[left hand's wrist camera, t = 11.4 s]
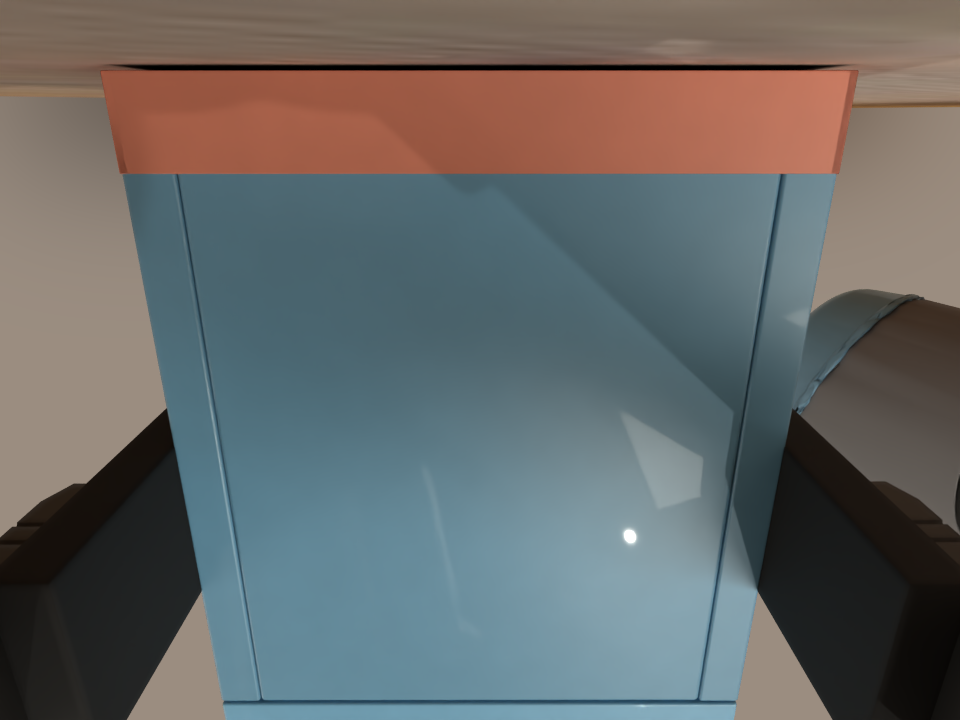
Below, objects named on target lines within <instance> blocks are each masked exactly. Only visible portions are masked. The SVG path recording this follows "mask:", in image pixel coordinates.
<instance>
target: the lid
mask: <svg viewBox="0 0 960 720" xmlns="http://www.w3.org/2000/svg"><path fill="white" fill-rule="evenodd" d="M223 708H224V713H225V719H226V720H734V715H735V710H736V701H701V700H699V698H697V699H695V700H264V699H262V696H261V699H260V700H258V701H224V702H223Z"/></svg>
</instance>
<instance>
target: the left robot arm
mask: <svg viewBox="0 0 960 720" xmlns="http://www.w3.org/2000/svg"><path fill="white" fill-rule="evenodd" d="M201 591H202V589H201V584H200V578H199V573H198V568H197V562H196V557H195V552H194V547H193V541H192V536H191V531H190V525H189V520H188V515H187V509H186V504H185V499H184V494H183V488H182V483H181V478H180V472H179V467H178V462H177V457H176V451H175V447H174V443H173V438H172V433H171V427H170V422H169V417H168V411H167V408H166V409H165V410H164V411H163V412H162V413H161V414H160V415H159V416H158V417H157V418H156V419H155V420H154V421H153V422H152V423H150V425H148V426H147V427H146V428H145V429H144V430H143V431H142V432H141V433H140V434H139V435H138V436H137V437H136V438H134V440H132V441H131V442H130V443H129V444H128V445H127V446H126V447H125V448H124V449H123V450H122V451H121V452H120V453H118V454H117V455H116V456H115V457H114V458H113V459H112V460H111V461H110V462H109V463H108V464H107V465H106V466H105V467H104V468H103V469H101V470H100V471H99V472H98V473H97V474H96V475H95V476H94V477H93V478H92V479H91V480H90V481H89V482H88V483H87V484H72V485H71V486H69V487H67V488H65V489H63V490H61V491H60V492H58V493H56V494H54V495H52V496H50V497H48V498H47V499H45V500H43V501H41V502H40V503H39V504H38V505H36V506H35V507H34V508H33V509H32V510H31V511H30V512H29V513H27V514H26V515H25V516H24V517H23V518H22V519H21V520H19V521H18V522H17V526H16V527H12V528H10V529H9V530H8V531H7V532H6V533H5V534H4V535H2V536H1V537H0V720H127V718H128V716H129V715H130V713H131V711H132V709H133V708H134V706H135V704H136V703H137V701H138V699H139V698H140V696H141V694H142V692H143V691H144V689H145V687H146V685H147V684H148V682H149V680H150V679H151V677H152V675H153V674H154V672H155V670H156V668H157V667H158V665H159V663H160V662H161V660H162V658H163V656H164V655H165V653H166V651H167V650H168V648H169V646H170V644H171V643H172V641H173V639H174V637H175V636H176V634H177V632H178V631H179V629H180V627H181V626H182V624H183V622H184V620H185V619H186V617H187V615H188V613H189V612H190V610H191V608H192V607H193V605H194V603H195V601H196V600H197V598H198V596H199V595H200V593H201ZM757 591H758V592H759V594H760V596H761V598H762V599H763V601H764V603H765V604H766V606H767V608H768V610H769V611H770V613H771V615H772V616H773V618H774V620H775V622H776V623H777V625H778V627H779V629H780V630H781V632H782V634H783V635H784V637H785V639H786V640H787V642H788V644H789V646H790V647H791V649H792V651H793V653H794V654H795V656H796V658H797V659H798V661H799V663H800V665H801V666H802V668H803V670H804V671H805V673H806V675H807V677H808V678H809V680H810V682H811V683H812V685H813V687H814V689H815V690H816V692H817V694H818V695H819V697H820V699H821V701H822V702H823V704H824V706H825V707H826V709H827V711H828V713H829V714H830V716H831V718H832V719H833V720H960V535H959V534H958V533H957V532H956V531H955V530H953V529H952V528H951V527H950V526H949V525H948V524H943V520H942V519H941V518H940V517H939V516H937V515H936V514H935V513H934V512H933V511H932V510H931V509H929V508H928V507H927V506H926V505H925V504H924V503H923V502H921V501H920V500H919V499H918V498H916V497H914V496H912V495H910V494H908V493H906V492H905V491H903V490H901V489H899V488H897V487H895V486H893V485H892V484H890V483H888V482H886V481H869V480H868V479H867V478H866V477H865V476H864V475H863V474H862V473H861V472H860V471H859V470H858V469H857V468H856V467H855V466H853V465H852V464H851V463H850V462H849V461H848V460H847V459H846V458H845V457H844V456H843V455H842V454H841V453H840V452H839V451H837V450H836V449H835V448H834V447H833V446H832V445H831V444H830V443H829V442H828V441H827V440H826V439H825V438H824V437H823V436H822V435H820V434H819V433H818V432H817V431H816V430H815V429H814V428H813V427H812V426H811V425H810V424H809V423H808V422H807V421H806V420H804V419H803V418H802V417H801V416H800V415H799V414H798V413H797V412H796V411H795V410H794V409H793V408H792V413H791V418H790V423H789V429H788V434H787V439H786V444H785V447H784V452H783V457H782V463H781V468H780V473H779V479H778V484H777V489H776V495H775V500H774V505H773V510H772V516H771V521H770V526H769V532H768V537H767V542H766V548H765V553H764V558H763V564H762V569H761V574H760V579H759V585H758V590H757Z"/></svg>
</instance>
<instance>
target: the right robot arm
mask: <svg viewBox="0 0 960 720" xmlns="http://www.w3.org/2000/svg"><path fill="white" fill-rule="evenodd" d="M792 408H793V409H794V410H795V411H796V412H797V413H798V414H799V415H800V416H801V417H802V418H803V419H804V420H806V421H807V422H808V423H809V424H810V425H811V426H812V427H813V428H814V429H815V430H816V431H817V432H818V433H819V434H820V435H822V436H823V437H824V438H825V439H826V440H827V441H828V442H829V443H830V444H831V445H832V446H833V447H834V448H835V449H836V450H837V451H839V452H840V453H841V454H842V455H843V456H844V457H845V458H846V459H847V460H848V461H849V462H850V463H851V464H852V465H853V466H855V467H856V468H857V469H858V470H859V471H860V472H861V473H862V474H863V475H864V476H865V477H866V478H867V479H868V480H869V481H886V482H888V483H890V484H892V485H893V486H895V487H897V488H899V489H901V490H903V491H905V492H906V493H908V494H910V495H912V496H914V497H916V498H918V499H919V500H920V501H921V502H923V503H924V504H925V505H926V506H927V507H928V508H929V509H931V510H932V511H933V512H934V513H935V514H936V515H937V516H939V517H940V518H941V519H942V520H943V524H948V525H949V526H950V527H951V528H952V529H953V530H955V531H956V532H957V533H958V534H959V535H960V308H956V307H953V306H949V305H945V304H941V303H937V302H933V301H929V300H925V299H924V297H919V296H918V295H914V294H909V295H901V294H895V293H889V292H883V291H877V290H870V289H860V290H853V291H849V292H845V293H842V294H840V295H837V296H835V297H833V298H831V299H830V300H828V301H826V302H825V303H823V304H822V305H820V306H819V307H818V308H817V309H815V310H814V311H813V312H812V313H810V317H809V323H808V328H807V333H806V338H805V344H804V349H803V354H802V360H801V365H800V370H799V376H798V381H797V386H796V391H795V397H794V402H793V407H792Z"/></svg>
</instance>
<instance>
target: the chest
mask: <svg viewBox="0 0 960 720" xmlns="http://www.w3.org/2000/svg"><path fill="white" fill-rule="evenodd" d="M100 72H101V77H102V83H103V88H104V93H105V98H106V104H107V109H108V114H109V119H110V125H111V130H112V135H113V140H114V145H115V151H116V156H117V161H118V167H119V172H120V174H123V179H124V184H125V189H126V195H127V200H128V205H129V211H130V216H131V221H132V226H133V231H134V237H135V242H136V248H137V253H138V258H139V263H140V269H141V274H142V279H143V285H144V290H145V295H146V300H147V306H148V311H149V316H150V322H151V327H152V332H153V337H154V342H155V348H156V353H157V358H158V364H159V369H160V374H161V380H162V385H163V390H164V396H165V401H166V406H167V411H168V417H169V422H170V427H171V433H172V438H173V443H174V447H175V451H176V457H177V462H178V467H179V472H180V478H181V483H182V488H183V494H184V499H185V504H186V509H187V515H188V520H189V525H190V531H191V536H192V541H193V547H194V552H195V557H196V562H197V568H198V573H199V578H200V584H201V589H202V596H203V601H204V607H205V612H206V617H207V623H208V628H209V633H210V639H211V644H212V649H213V654H214V660H215V665H216V670H217V676H218V681H219V686H220V691H221V696H222V700H224V701H258V700H260V699H261V696H262V699H264V700H695V699H697V698H699V700H701V701H735V700H737V699H738V693H739V688H740V683H741V678H742V672H743V667H744V662H745V657H746V651H747V646H748V641H749V635H750V630H751V625H752V619H753V614H754V609H755V604H756V598H757V593H758V591H757V590H758V585H759V579H760V574H761V569H762V564H763V558H764V553H765V548H766V542H767V537H768V532H769V526H770V521H771V516H772V510H773V505H774V500H775V495H776V489H777V484H778V479H779V473H780V468H781V463H782V457H783V452H784V447H785V444H786V439H787V434H788V429H789V423H790V418H791V413H792V407H793V402H794V397H795V391H796V386H797V381H798V376H799V370H800V365H801V360H802V354H803V349H804V344H805V338H806V333H807V328H808V323H809V317H810V312H811V307H812V301H813V296H814V291H815V285H816V280H817V275H818V269H819V264H820V259H821V254H822V248H823V243H824V238H825V232H826V227H827V222H828V216H829V211H830V206H831V200H832V195H833V190H834V185H835V179H836V174H839V171H840V166H841V161H842V155H843V150H844V145H845V140H846V134H847V129H848V124H849V118H850V113H851V108H852V103H853V98H854V92H855V87H856V82H857V76H858V70H101V71H100Z"/></svg>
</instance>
